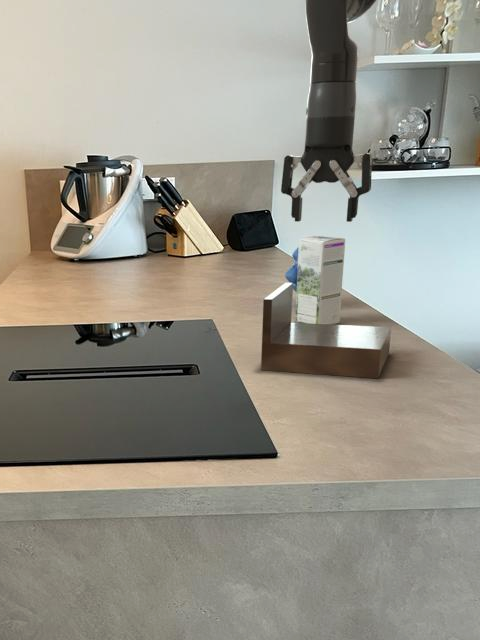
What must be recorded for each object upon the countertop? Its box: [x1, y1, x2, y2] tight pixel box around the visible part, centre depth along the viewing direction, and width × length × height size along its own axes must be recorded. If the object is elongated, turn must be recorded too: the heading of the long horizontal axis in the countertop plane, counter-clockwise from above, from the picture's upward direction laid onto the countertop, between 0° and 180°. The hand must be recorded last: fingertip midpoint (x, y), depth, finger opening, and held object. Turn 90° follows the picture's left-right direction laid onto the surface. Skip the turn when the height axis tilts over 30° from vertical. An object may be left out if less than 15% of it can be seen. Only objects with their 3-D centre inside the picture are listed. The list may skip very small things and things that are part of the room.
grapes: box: [284, 246, 299, 293], centre depth 151 cm, size 12×7×12 cm, turn 9°
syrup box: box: [294, 235, 346, 325], centre depth 136 cm, size 6×6×14 cm
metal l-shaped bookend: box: [260, 282, 392, 379], centre depth 112 cm, size 16×14×10 cm
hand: (323, 221), depth 132 cm, fingers open, 8 cm apart
